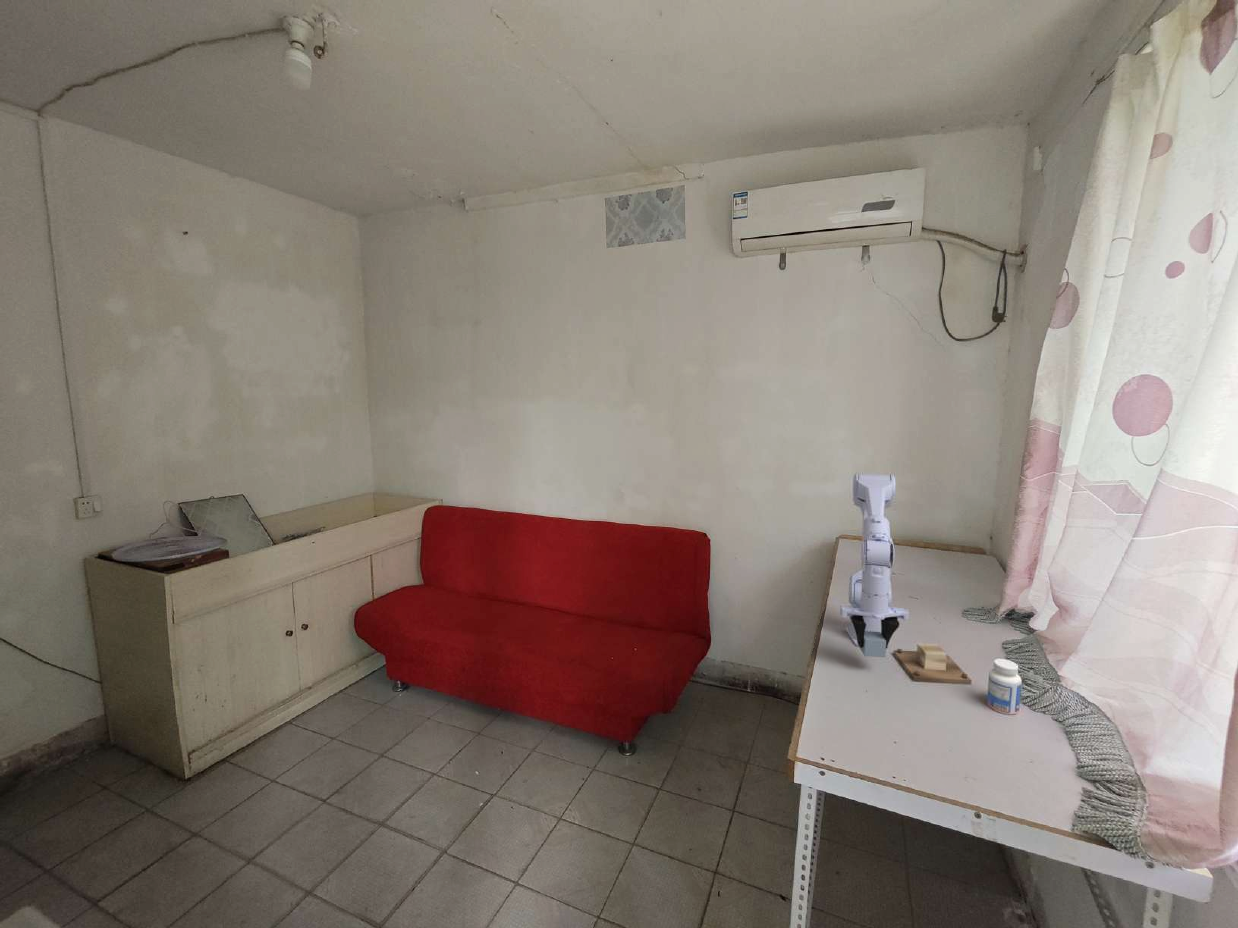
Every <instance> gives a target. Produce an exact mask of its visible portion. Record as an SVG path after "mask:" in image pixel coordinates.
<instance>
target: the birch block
mask: <svg viewBox="0 0 1238 928" xmlns="http://www.w3.org/2000/svg"><path fill="white" fill-rule="evenodd" d="M916 646H917V647H916V651H917V656H916V659H917V660H918V662H919V663H920V664H921V665H922V667H923V668H924V669H930V670H946V658H947V655H948V654H947V652H946V651H945V650H943V648H942V647H940V645H939V644H935V643H933V644H932V643H917V645H916ZM944 651H945V652H946V653H945V652H944Z"/></svg>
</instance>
